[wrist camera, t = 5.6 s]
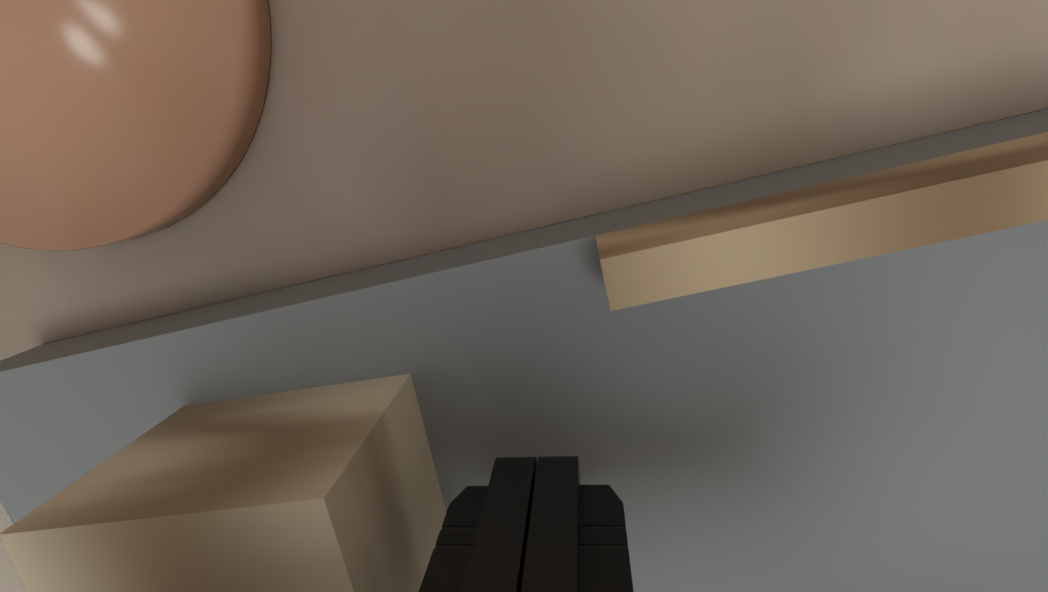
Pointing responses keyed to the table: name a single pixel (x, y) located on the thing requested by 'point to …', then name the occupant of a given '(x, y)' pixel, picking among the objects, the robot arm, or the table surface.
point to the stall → (829, 223)
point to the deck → (651, 391)
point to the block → (250, 501)
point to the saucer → (122, 113)
